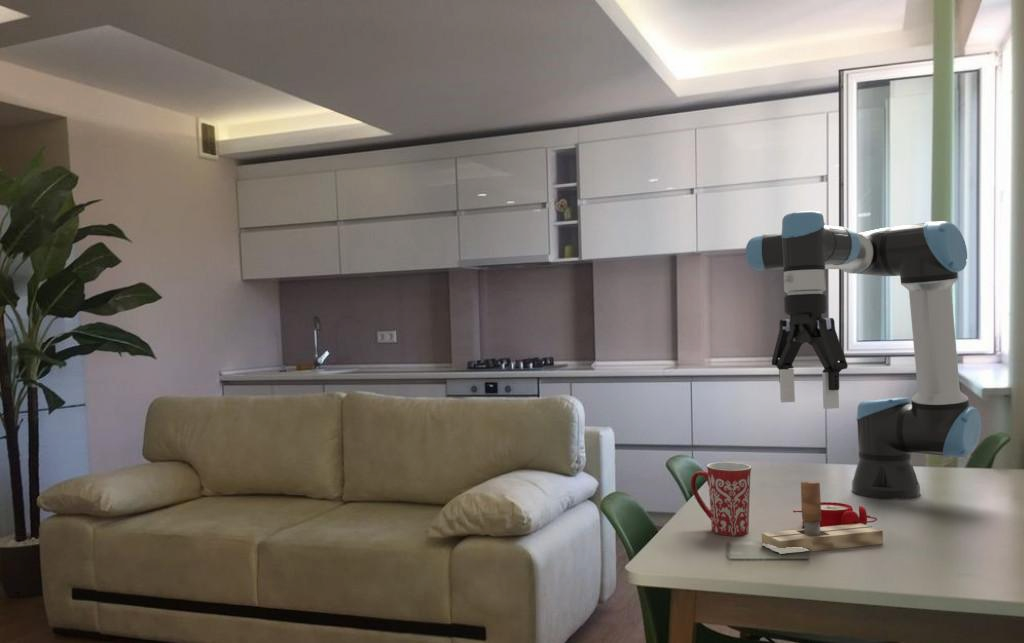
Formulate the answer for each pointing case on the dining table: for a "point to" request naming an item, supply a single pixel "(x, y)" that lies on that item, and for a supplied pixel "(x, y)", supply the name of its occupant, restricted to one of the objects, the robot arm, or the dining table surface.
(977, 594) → the dining table surface
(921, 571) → the dining table surface
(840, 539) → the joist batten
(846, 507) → the alarm clock
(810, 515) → the wooden tool handle
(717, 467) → the mug
